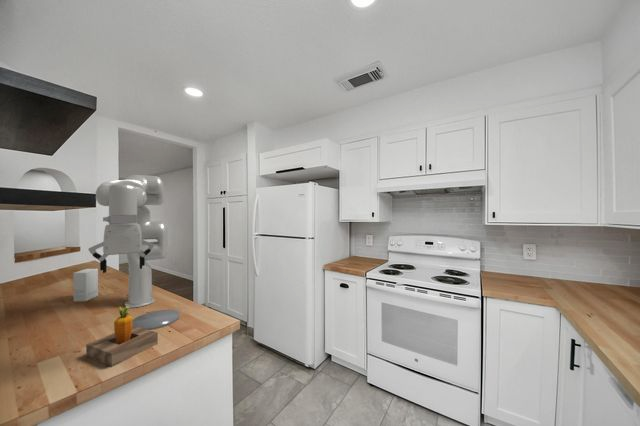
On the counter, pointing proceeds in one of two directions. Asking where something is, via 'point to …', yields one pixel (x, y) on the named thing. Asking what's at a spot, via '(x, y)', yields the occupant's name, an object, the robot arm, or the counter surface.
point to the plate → (156, 319)
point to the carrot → (123, 326)
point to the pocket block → (121, 346)
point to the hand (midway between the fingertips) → (123, 270)
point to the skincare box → (85, 284)
